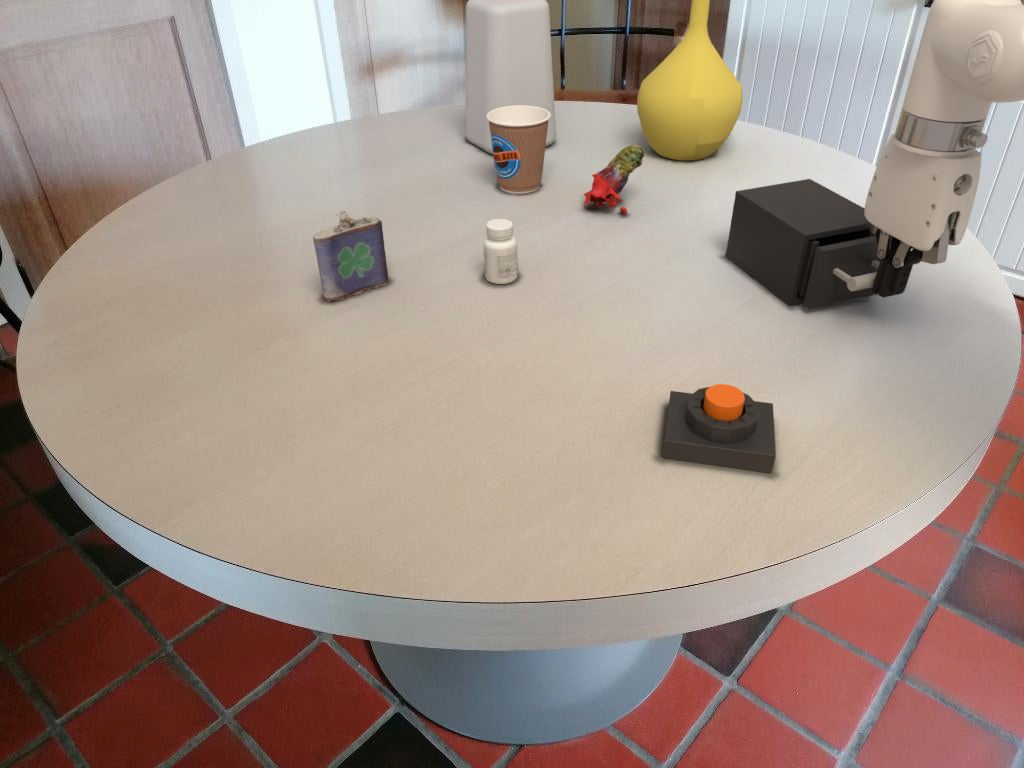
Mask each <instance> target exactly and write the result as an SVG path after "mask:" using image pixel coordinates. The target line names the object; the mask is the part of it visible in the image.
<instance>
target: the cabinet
mask: <svg viewBox="0 0 1024 768" xmlns="http://www.w3.org/2000/svg"><path fill="white" fill-rule="evenodd" d="M864 209H865V207H863V206H861V205H860V204H857V203H855V202H853V201H852V200H850V199H848V198H847V197H844V196H842V195H841V194H839V193H837V192H835V191H834V190H831V189H829V188H828V187H826V186H824V185H822V184H820V183H819V182H816V181H815V180H813V179H811V178H806V179H799V180H794V181H788V182H782V183H776V184H770V185H765V186H759V187H753V188H745V189H740V190H736V191H735V194H734V201H733V207H732V215H731V220H730V225H729V232H728V239H727V244H726V245H727V246H726V249H725V250H726V252H725V258H726V259H728V260H729V261H730V262H731V263H732V264H734V265H735V266H737V268H739V269H740V270H742V271H743V272H744V273H745V274H746V275H748V276H750V278H752V279H753V280H754V281H756V282H757V283H758V284H760V285H761V286H762V287H764V288H765V289H766V290H768V291H769V292H770V293H771V294H773V295H774V296H775V297H777V298H778V299H779V300H781V302H783V303H785V304H786V305H787V306H788V307H793V306H797V305H801V304H802V305H803V303H804V299H805V296H803V297H801V296H800V295H798V294H797V292H798V287H799V283H800V279H801V274H802V270H803V266H804V261H805V257H806V253H807V248H808V244H809V240H814V239H819V238H824V237H829V236H834V235H839V234H845V233H850V232H855V231H860V230H865V229H868V228H867V227H866V225H865V221H866V217H865V215H864Z"/></svg>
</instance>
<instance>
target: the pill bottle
mask: <svg viewBox="0 0 1024 768" xmlns="http://www.w3.org/2000/svg"><path fill="white" fill-rule="evenodd" d="M485 227H486V228H485V229H486V232H485V233H486V236H487V237H485V239H484V240H483V261H484V265H483V266H484V277H485V279H486V281H487V282H489V283H492V284H495V285H507V284H510V283H513V282H514V281H515V280H516V279H517V278H518V274H519V273H518V268H519V267H518V240H517V239H516V238H515V236H513V235H514V223H513V222H512V221H511V220H510V219H505V218H493V219H491V220H489V221H487V223H486V225H485Z"/></svg>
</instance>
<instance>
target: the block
mask: <svg viewBox="0 0 1024 768" xmlns="http://www.w3.org/2000/svg"><path fill="white" fill-rule="evenodd" d="M709 387H710V386H706V387H701V388H698V389H696V390H695V391H694V392H693V393H691V392H684V391H675V390H671V391H670V393H669V400H668V409H667V416H666V425H665V432H664V441H663V449H662V458H663V459H666V460H667V459H668V460H675V461H681V462H689V463H697V464H704V465H709V466H716V467H717V466H720V467H726V468H731V469H739V470H746V471H754V472H758V473H759V472H760V473H767V474H772V473H773V469H774V465H775V461H776V457H777V451H776V450H777V449H776V434H775V417H774V414H775V413H774V404H773V402H765V401H764V402H763V401H757V400H754V399H753V398H752V397H751V396H750V395H749V394H747V393H745V392H743V394H744V396H745V401H744V406H743V411H742V414H741V416H740V417H739V418H738V419H735V420H731V421H725V420H718V419H715V418H713V417H711V416H709V415H707V414H706V413H705V411H704V409H703V405H704V399H705V393H706V390H707V389H708V388H709Z"/></svg>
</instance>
